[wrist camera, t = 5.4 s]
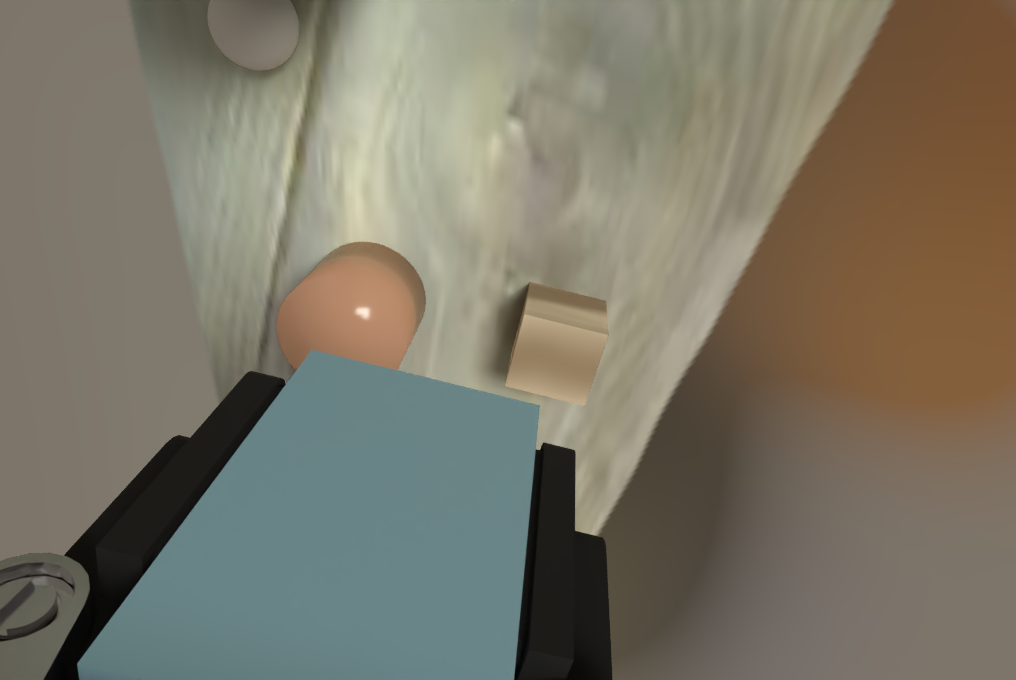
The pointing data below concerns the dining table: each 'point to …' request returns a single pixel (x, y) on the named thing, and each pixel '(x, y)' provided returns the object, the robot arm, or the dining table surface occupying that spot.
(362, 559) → the teal block
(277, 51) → the grey ball
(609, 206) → the dining table surface
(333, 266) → the peach cylinder
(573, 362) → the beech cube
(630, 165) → the dining table surface
